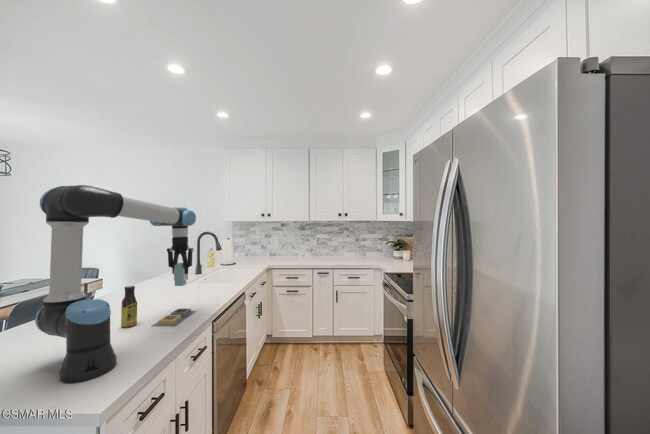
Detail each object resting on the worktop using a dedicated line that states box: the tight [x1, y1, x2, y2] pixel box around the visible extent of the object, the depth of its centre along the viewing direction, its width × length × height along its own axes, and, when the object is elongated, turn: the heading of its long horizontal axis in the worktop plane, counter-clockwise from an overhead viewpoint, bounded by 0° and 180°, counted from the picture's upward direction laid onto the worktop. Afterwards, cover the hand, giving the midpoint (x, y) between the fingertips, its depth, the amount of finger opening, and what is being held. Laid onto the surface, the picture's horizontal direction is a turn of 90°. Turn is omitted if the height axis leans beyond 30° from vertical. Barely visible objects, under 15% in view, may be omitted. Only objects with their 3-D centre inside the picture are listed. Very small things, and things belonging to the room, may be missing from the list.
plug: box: [174, 262, 187, 287], centre depth 148 cm, size 4×4×12 cm
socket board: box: [150, 308, 198, 328], centre depth 143 cm, size 22×12×3 cm, turn 179°
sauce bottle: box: [120, 285, 138, 329], centre depth 134 cm, size 6×6×20 cm
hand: (180, 280), depth 148 cm, fingers closed on plug, 4 cm apart
